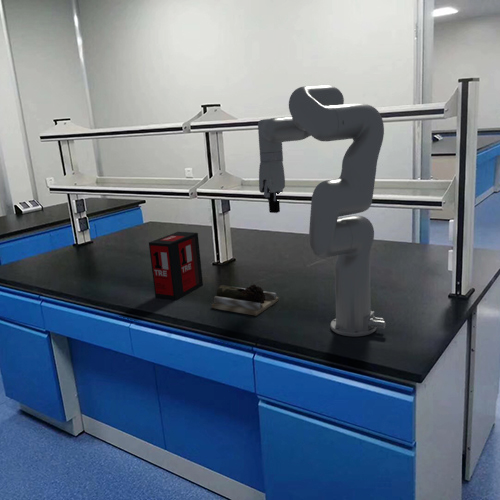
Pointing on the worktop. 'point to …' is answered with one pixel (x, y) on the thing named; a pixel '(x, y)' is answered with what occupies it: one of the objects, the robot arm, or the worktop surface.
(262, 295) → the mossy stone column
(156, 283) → the cleaning product box
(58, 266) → the worktop surface
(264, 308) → the pipe cradle
